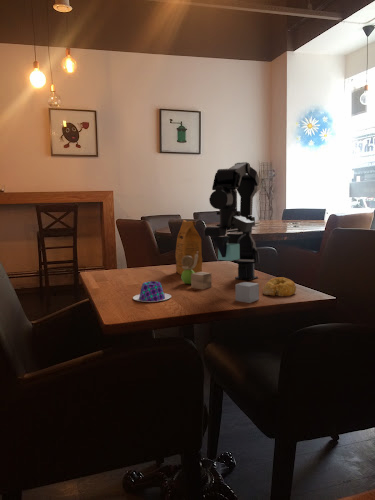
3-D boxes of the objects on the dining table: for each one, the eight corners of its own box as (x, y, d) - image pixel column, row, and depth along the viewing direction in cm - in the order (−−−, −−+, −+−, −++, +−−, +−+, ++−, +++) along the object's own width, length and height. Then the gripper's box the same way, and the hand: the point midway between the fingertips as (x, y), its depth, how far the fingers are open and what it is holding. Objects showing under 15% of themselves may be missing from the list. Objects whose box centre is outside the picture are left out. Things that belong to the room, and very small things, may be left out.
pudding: (151, 293, 139) (151, 277, 138) (179, 297, 131) (178, 281, 130) (124, 300, 129) (124, 284, 129) (153, 306, 122) (152, 288, 121)
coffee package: (195, 270, 180) (194, 219, 177) (204, 274, 168) (203, 220, 165) (173, 271, 177) (171, 220, 174) (181, 276, 165) (179, 221, 162)
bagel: (255, 292, 135) (255, 278, 135) (283, 289, 139) (283, 275, 139) (273, 299, 126) (273, 283, 126) (302, 295, 130) (303, 280, 130)
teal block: (227, 257, 139) (227, 242, 139) (239, 258, 136) (239, 243, 135) (218, 259, 135) (217, 244, 135) (230, 260, 132) (230, 245, 132)
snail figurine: (197, 285, 147) (196, 252, 146) (179, 285, 149) (179, 252, 147) (200, 282, 153) (199, 250, 151) (183, 282, 154) (182, 250, 153)
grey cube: (245, 297, 128) (244, 281, 128) (258, 299, 125) (258, 283, 124) (235, 300, 125) (235, 284, 124) (249, 303, 121) (249, 286, 121)
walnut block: (200, 285, 148) (200, 271, 147) (211, 287, 145) (211, 273, 144) (191, 288, 144) (190, 273, 144) (202, 289, 141) (202, 275, 140)
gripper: (231, 209, 121) (232, 261, 123) (265, 207, 135) (265, 254, 137) (202, 209, 129) (203, 259, 131) (237, 207, 143) (237, 252, 144)
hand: (228, 256), depth 136 cm, fingers closed on teal block, 5 cm apart
